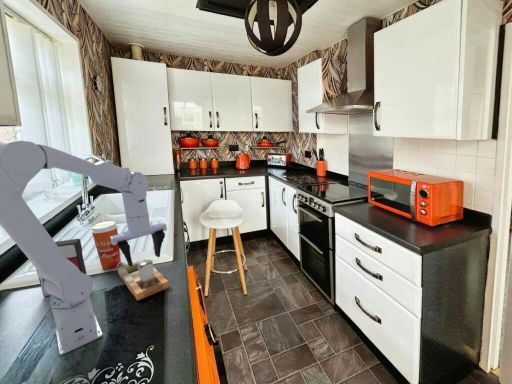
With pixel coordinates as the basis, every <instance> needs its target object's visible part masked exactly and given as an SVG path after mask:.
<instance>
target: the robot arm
mask: <svg viewBox="0 0 512 384" xmlns="http://www.w3.org/2000/svg"><path fill="white" fill-rule="evenodd" d="M54 168H55V169H59V170H62V171H67V172H71V173H74V174H78V175H83V176H86V177H89V179H90V180H91V182H92V183H93V184H95V185H98V186H102V187H106V188H109V189H114V190H116V191H118V192H119V193H121V195H122V201H123V207H124V214H125V221H126V226H127V230H126V231H124V232H121V233H118V235H115V236H111V237H110V238H111V243H112V245H117V246H118V247H119V249H120V252H122V254H123V256H124V258H125V261H126V263H127V265H129V266H130V267H131V266H133V264H132V263H133V260H132V259H133V258H132V256H131V246H130V244H129V242H128V241H131V240H135V239H137V238H138V239H139V238H142V237H145V236H149V235H151V238H152V243H153V249H154V250H153V251H154V255H155V257H156V258H160V257H161V251H162V250H161V249H162V246H163V245H162V244H163V242H164V239H165V237H166V233H165V232H166V231H168V228H167V224H166V223H164V222H162V223H157V224H151V223H150V216H149V210H148V209H149V208H148V202H147V197H148V196H147V195H148V194H147V191H148V188H149V185H150V184H149V183H150V181H149V180H148V179H147V178H146V176H145V175H144V174H143V173H141V172H137V171H131V170H130V168H129V167H127V166H126V167H121V166H118V165H115V164H114V161H112V160H110V159H109V160H108V159H107V160H101V161H98V162H96V163H94V162H91V161H89V160H86V159H83V158H81V157H79V156H76V155H72V154H70V153H67V152H64V151H63V150H59V149H56V148H55V147H52V146H48V145H45V144H41V143H40V144H38V143H35V142H33V141H29V140H25V139H18V140H13V141H0V226H1V227H2V228H3V229H4V231H5V232H6V233H7V234H8V235H9V237H10V238H11V239H12V240H13V242H14V243H15V244H16V245H17V246H18V248H19V249H20V250H21V252H22V253H23V254H24V255H25V256H26V257H27V259H28V260H29V261H30V262H31V264H32V265H33V266H34V267H35V269H36V276H39V277H38V279H39V278H40V279H41V285H40V288H41V287H42V288H41V291H42V290H43V291H44V292H45V293H47V294H51V295H50V296H49V297H50V300H49V302H50V307H51V308H50V309H51V312H52V315H53V320H54V324H55V327H56V330H55V333H56V334H55V335H56V341H57V346H58V353H59V355H60V356H62V355H65V354H67V353H68V352H69V353H70V352H71V351H73V350H75V349H77V348H80V347H82V346H84V345H86V344H88V343H91V342H92V341H95V340H97V339H99V338H101V337H102V336H103V331H102V329H101V327H100V324H99V322H98V320H97V316H96V315H95V313H94V307H93V303H92V298H91V293H92V291H93V287H94V280H93V278H92V277H91V275H89V274H88V273H87V274H84V273H82V272H81V271H80V270H79V269H78V267H76V266H75V265H74V264H73V263H71V262H70V261H69V260H68V259H67V258H66V257H65V256H64V254H63V253H62V252H61V250H60V249H59V247H58V246H57V245H56V243H55V242H56V241H55V240H54V239H53V238H52V236H51V235H50V233H48V230H46V228H45V226H43V224H42V223H41V221H40V220H39V219H38V217H37V216H36V214H35V213H34V212H33V211H32V209H31V208H30V206H29V205H28V203H27V201H25V199H24V198H23V193H24V191H25V189H26V187H27V186H28V184H29V183H30V181H32V180H33V178H35V177H36V176H37V175H38V174H39V173H40V172H41V171H42V170H49V169H54ZM37 270H38V272H37Z"/></svg>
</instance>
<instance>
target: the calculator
mask: <svg viewBox="0 0 512 384" xmlns="http://www.w3.org/2000/svg"><path fill="white" fill-rule="evenodd" d="M54 242H55V243H56V245H57V246H58V247H59V249H60V250H61V252H62V253H63V254H64V256H65V257H66V258H67V259H68V260H69V261H70V262H71V263H73V264H74V265H75V266H76V267H78V269H79V270H80V271H81V272H82V273H84V274H87V275H88V273H87V268H86V265H85V260H84V255H83V246H82V242H81V238H73V239H66V240H64V239H63V240H59V241H54ZM37 272H38V270H37V269H36V273H37ZM37 276H38V275H37ZM38 280H39V284H40V288H41V292H42V295H43V297H51V296H50V295H51V294H47V293H45V292H44V291H43V290H42V287H41V279H40V278H39V276H38Z"/></svg>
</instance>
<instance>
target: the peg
mask: <svg viewBox="0 0 512 384" xmlns="http://www.w3.org/2000/svg"><path fill="white" fill-rule="evenodd" d="M143 260H144V259H143ZM140 261H141V260H140ZM153 267H154V261H153V260H152V259H146V260H144V261H141V262H139V263H138V269H137V271H139V276H140V282H141V287H140V288H141V289H144V288H146V287H149V286H151V285H154V284H156V281H155V274H154V268H155V267H154V268H153Z"/></svg>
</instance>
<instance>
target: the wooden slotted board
mask: <svg viewBox="0 0 512 384" xmlns="http://www.w3.org/2000/svg"><path fill="white" fill-rule="evenodd" d="M144 260H147V259H142V260H139V261H136V262H132V264H133V266H131V267H130V266H129V265H128V264H126V265H124V266H121V267H119V268H117V267H116V269H117V274H118V276H119V277H120V278H121V280H122V281H123V282H124V284H125V285H126V288H128V290H129V291H130V292H131V294H132V295H133V297H134V298H135V299H136V301H137V302H138V301H140V300H142V299H145V298H147V297H150V296H152V295H155V294H157V293H158V292H161V291H164V290H166V289H169V288H170V284H169V283H170V282H169V279H167V278H166V277H165V276H163V274H162V273H160V271H158V270H157V268H155V267H154V266H153V268H154V274H155V281H156V284H154V285H151V286H149V287H146V288H144V289H142V288H141V282H140V276H139V270H138V263H139V262H141V261H144Z"/></svg>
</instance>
